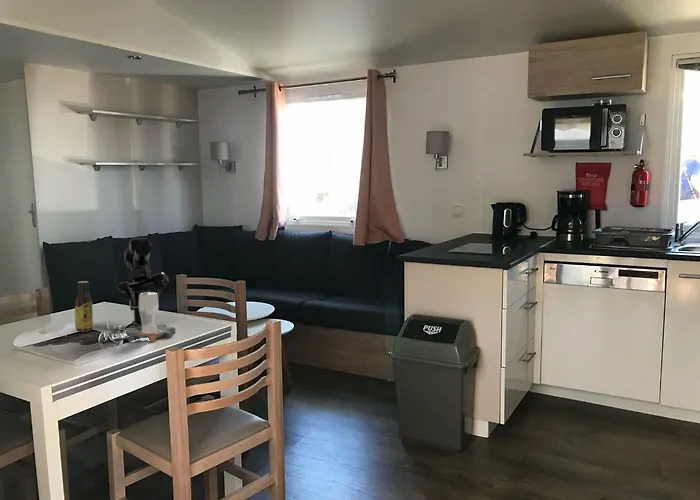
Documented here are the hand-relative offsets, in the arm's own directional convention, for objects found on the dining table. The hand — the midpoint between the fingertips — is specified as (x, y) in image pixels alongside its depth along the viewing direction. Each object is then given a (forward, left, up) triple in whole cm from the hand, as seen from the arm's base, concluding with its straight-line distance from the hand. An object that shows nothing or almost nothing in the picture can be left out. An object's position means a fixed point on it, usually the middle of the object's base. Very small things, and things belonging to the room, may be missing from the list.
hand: (145, 303), depth 223 cm
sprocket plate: (+5, 0, -12) cm, 13 cm away
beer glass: (+9, 0, -10) cm, 13 cm away
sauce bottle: (-13, -21, -12) cm, 28 cm away
